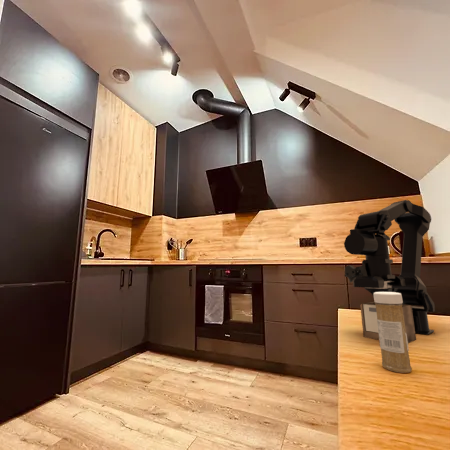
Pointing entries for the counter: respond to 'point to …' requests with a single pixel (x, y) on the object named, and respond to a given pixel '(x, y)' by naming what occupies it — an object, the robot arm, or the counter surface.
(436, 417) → the counter surface
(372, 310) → the cabinet door
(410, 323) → the open wooden box
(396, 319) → the sprinkles bottle
